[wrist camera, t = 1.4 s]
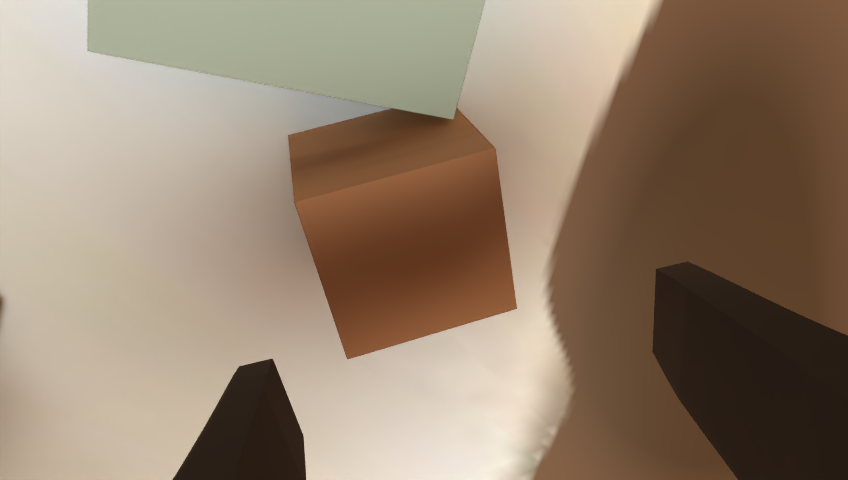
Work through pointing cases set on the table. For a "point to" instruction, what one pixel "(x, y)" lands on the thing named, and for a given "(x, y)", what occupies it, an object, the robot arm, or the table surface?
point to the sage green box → (304, 44)
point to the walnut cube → (403, 225)
